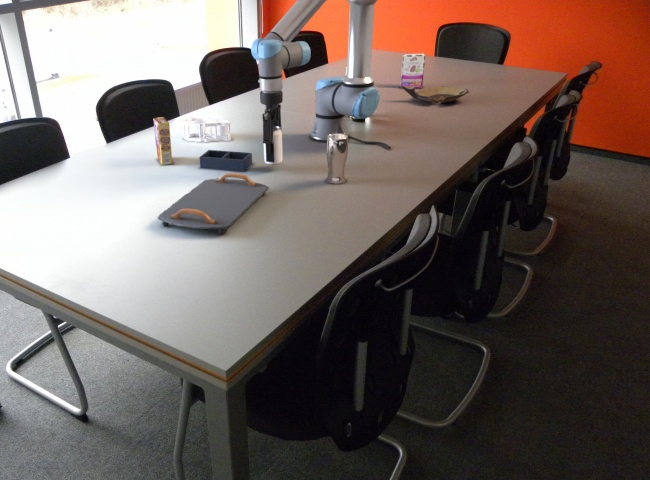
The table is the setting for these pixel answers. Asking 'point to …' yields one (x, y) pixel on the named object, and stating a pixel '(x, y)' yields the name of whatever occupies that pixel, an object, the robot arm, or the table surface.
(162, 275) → the table surface
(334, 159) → the beer glass
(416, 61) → the candy bar box
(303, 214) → the table surface
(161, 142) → the candy box
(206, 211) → the serving tray
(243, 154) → the tray
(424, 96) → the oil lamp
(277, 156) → the can
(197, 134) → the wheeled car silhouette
